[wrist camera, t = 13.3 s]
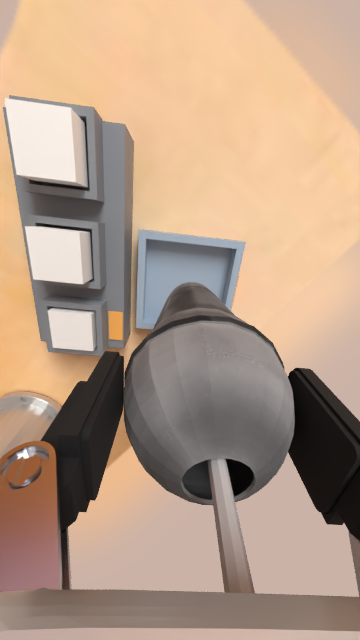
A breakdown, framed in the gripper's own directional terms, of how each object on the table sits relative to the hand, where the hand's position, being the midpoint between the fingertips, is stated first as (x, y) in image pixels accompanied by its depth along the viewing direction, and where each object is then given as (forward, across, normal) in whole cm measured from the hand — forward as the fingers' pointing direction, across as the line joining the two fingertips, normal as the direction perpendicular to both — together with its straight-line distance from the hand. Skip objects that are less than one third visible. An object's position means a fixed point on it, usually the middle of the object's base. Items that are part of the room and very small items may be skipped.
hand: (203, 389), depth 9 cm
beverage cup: (+12, 0, 0) cm, 12 cm away
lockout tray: (+20, 0, 0) cm, 20 cm away
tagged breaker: (+16, +12, +5) cm, 21 cm away
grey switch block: (+20, +12, -3) cm, 23 cm away
